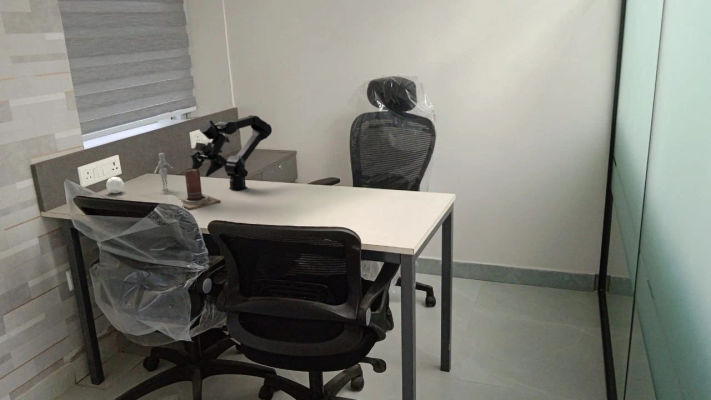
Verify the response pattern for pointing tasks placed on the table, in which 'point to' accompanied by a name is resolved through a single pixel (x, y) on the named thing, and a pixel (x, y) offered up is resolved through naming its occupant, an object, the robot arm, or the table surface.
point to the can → (193, 184)
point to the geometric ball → (115, 185)
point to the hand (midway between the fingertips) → (199, 174)
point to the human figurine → (162, 170)
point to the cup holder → (199, 202)
